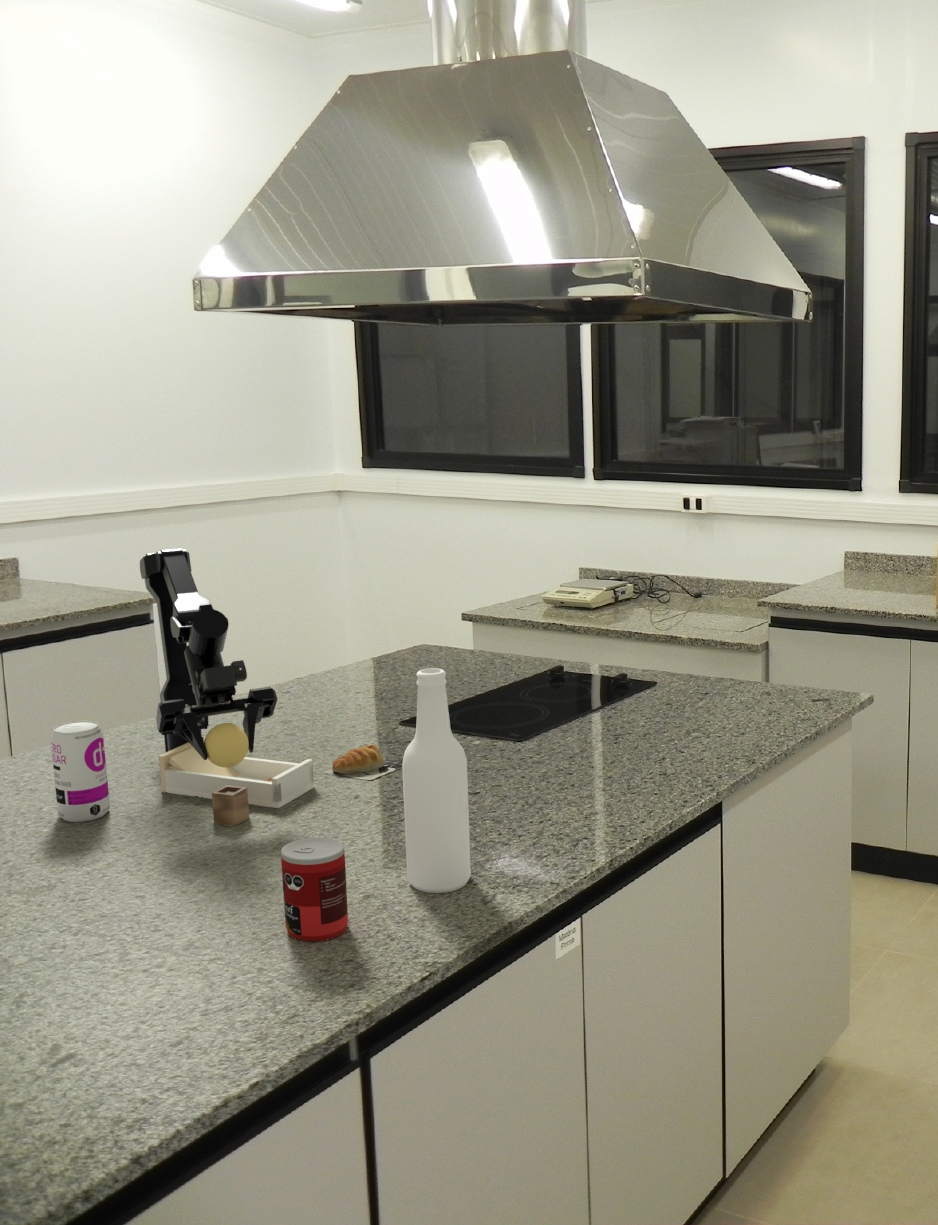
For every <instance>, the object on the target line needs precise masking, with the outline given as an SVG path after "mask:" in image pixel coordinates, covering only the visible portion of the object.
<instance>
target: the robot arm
mask: <svg viewBox="0 0 938 1225" xmlns="http://www.w3.org/2000/svg"><path fill="white" fill-rule="evenodd" d="M139 571H140V577H141V579H144V583H145V588H146V590H147V592H148V593H149V594H150V595H151V596H152V597H153V599H154V600H155V601H156V608H157V614H158V615H157V616H158V621H159V630H160V638H161V639H160V640H161V645H162V646H161V647H162V653H163V662H164V668H165V669H164V670H165V676H166V680H165V682H164V684H163V686H162V689H161V691H160V693H159V698H160V700H159V701H160V702H158V704H157V710H156V716H155V721H156V728H157V731H158V733H160V735H161V736H163V739H164V748H165V749H164V750H165V751H164V752H165V753H166V752H168V751H171V750H173V749H175V748H177V747H179V746H182V745H184V744H186V743H188V742H189V743H190V744H191V745H192V746H193V747H194V749H195V750H196V751H197V752H198V753H199V754H200V756H201V757H202V758H203V759H204V760H207V758H208V756H207V751H206V747H205V744H204V740H205V738H204V737H203V736H202V730H207V729H208V727H209V726H210V724H209V723H210V722H209V717H212V716H218V715H225V714H232V713H238V712H243V716H244V717H243V718H242V719H243V720H242V727H243V728H242V729H243V731H244V732H245V733H246V735H247V737H248V741H249V749H248V752H249V753H250V754H251V753H253V752H254V745H255V744H254V743H255V732H256V725H257V724H259V723H261V721H262V719H268V718H270V717H272V716H273V715H274V713H275V709H276V705H277V703H278V695H277V693H276V690H275V689H273V688H272V687H271V686H263V687H257V688H250V689H249V692H248V696H247V698H245V697H244V698H239V699H238V698H237V699H234V696H235V695H236V694H237V693H236V692H237V690H236V686H238V683H239V682H245V681H246V680H247V678H248V673H247V667H246V665H245V661H244V660H242V659H241V660H234V661H233V660H232V662H231V663H230V665H225V663H224V660H223V657H222V656H223V655H222V652H223V651H224V649H225V644H226V638H227V634H228V630H229V624H230V623H229V618H227V617H226V616H225V615H224V613H223V612H221V611H219V610H217V609H214V607H213V605H212V603H211V601H210V600H209V599H207V598H205V597H203V596H201V594H200V593H199V590H198V587H197V586H196V583H195V579H194V577H193V574H192V564H191V557H190V552H189V551H187V550H186V549H185V548H184V549H183V548H181V547H179V548H167V549H160V550H158V551H156V552H148V553H145V556H142V558H141V559H139Z"/></svg>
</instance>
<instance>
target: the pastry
mask: <svg viewBox="0 0 938 1225" xmlns="http://www.w3.org/2000/svg"><path fill="white" fill-rule="evenodd" d="M385 763H386V759H385V758H384V755H383V753H382V752H381V750H380V747H378V745H376V744H366V745H364V746H363V747H362V746H361V747H356V748H351V749H350V750H348V751H347V752H346V753H345V754H343V755H340V756H338V757H337V758H336V759H335V760H333V762H332V768H331V771H332V772H334V773H338V774H342V775H352V774H361V773H365V772H369V771H373V770H377V769H381V768H383V767H384V765H385Z"/></svg>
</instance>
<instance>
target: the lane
mask: <svg viewBox="0 0 938 1225" xmlns="http://www.w3.org/2000/svg"><path fill="white" fill-rule="evenodd" d="M158 766H159V777H160V789H161V793H166V792H167V794H173V795H181V796H186V797H187V796H189V797H195V796H198V797H197V798H202V797H203V798H204V799H209V800H212V792H214V791H216V790H218V789H220V788H222V787H224V786H226V785H231V786H238V787H246V788H247V793H248V805H251V806H252V805H253V806H261V807H267V808H276V809H280V808H282V807H283V806H285V805H287V804H288V803H290V802H292V801H293V800H296V799H297V798H299V797H300V796H302V795H304V794H305V793H307V792H309V791H311V790H312V789H314V788H315V777H314V775H315V774H314V760H313V758H312V759H311V758H306V759H305V760H303V761H300V763H298V762H291V761H290V762H289V761H282V760H273V759H265V758H256V757H247V756H246V757H245V758H244V759H243V760H242V761H241V762H240V763H239V764H237V765H235V766H233V767H227V768H225V767H219V766H217V765H215V764H213V763H212V762H211V761H210V760H209V759H208V758H207V760H204V759H203V758H202V757H201V756H200V754H199V753H198V752H197V751H196V750H195V749H194V747H193V746H192V745H191V744H190V743H189V742H188V743H186V744H184V745H182V746H179V747H177V748H175V749H173V750H171V751H168V752H165V753H161V754H159V755H158Z"/></svg>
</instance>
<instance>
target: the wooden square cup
mask: <svg viewBox="0 0 938 1225" xmlns="http://www.w3.org/2000/svg"><path fill="white" fill-rule="evenodd" d="M211 802H212V803H211V804H212V814H213V824H217V825H223V826H228V827H229V826H230V827H237V826H238V825H240V824H241V823H243V822H245V821H247V820H248V819H250V812H249V809H250V808H249V804H248V793H247V788H246V787H238V786H231V785H226V786H224V787H222V788H220V789H218V790H216V791H214V792H212V799H211Z"/></svg>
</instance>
